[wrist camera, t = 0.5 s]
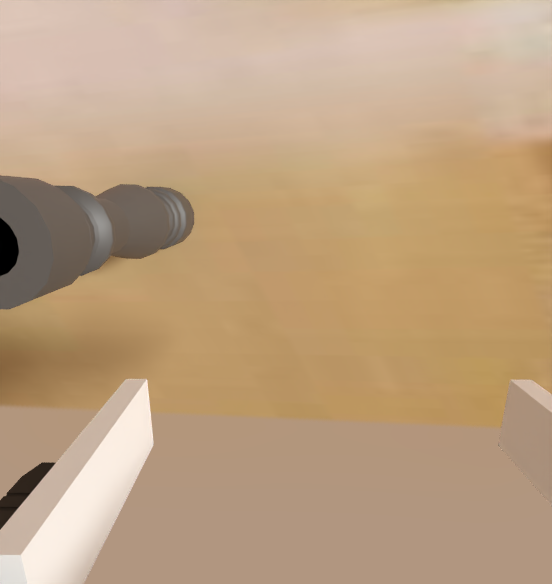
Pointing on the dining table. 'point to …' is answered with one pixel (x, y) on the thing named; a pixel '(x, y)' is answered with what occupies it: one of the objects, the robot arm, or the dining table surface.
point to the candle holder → (79, 232)
